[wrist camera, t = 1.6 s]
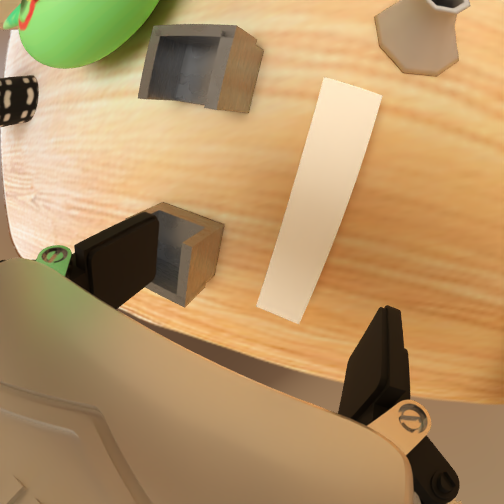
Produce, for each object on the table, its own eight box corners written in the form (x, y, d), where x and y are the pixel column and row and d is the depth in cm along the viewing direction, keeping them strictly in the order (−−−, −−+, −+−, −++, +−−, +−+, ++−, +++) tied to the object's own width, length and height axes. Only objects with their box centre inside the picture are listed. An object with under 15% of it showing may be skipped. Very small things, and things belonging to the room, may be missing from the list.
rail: (378, 102, 20) (382, 95, 16) (310, 295, 29) (298, 324, 25) (331, 87, 21) (324, 76, 17) (273, 279, 30) (256, 306, 26)
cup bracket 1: (265, 45, 21) (236, 25, 16) (248, 112, 24) (216, 109, 19) (192, 39, 23) (153, 25, 18) (178, 100, 26) (137, 98, 21)
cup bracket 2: (224, 224, 29) (192, 247, 24) (213, 278, 32) (184, 307, 27) (163, 202, 31) (125, 218, 26) (158, 253, 34) (124, 276, 29)
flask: (397, 86, 19) (417, 57, 10) (359, 12, 17) (351, -48, 8) (470, 69, 15) (521, 42, 7) (432, -3, 14) (455, -60, 5)
